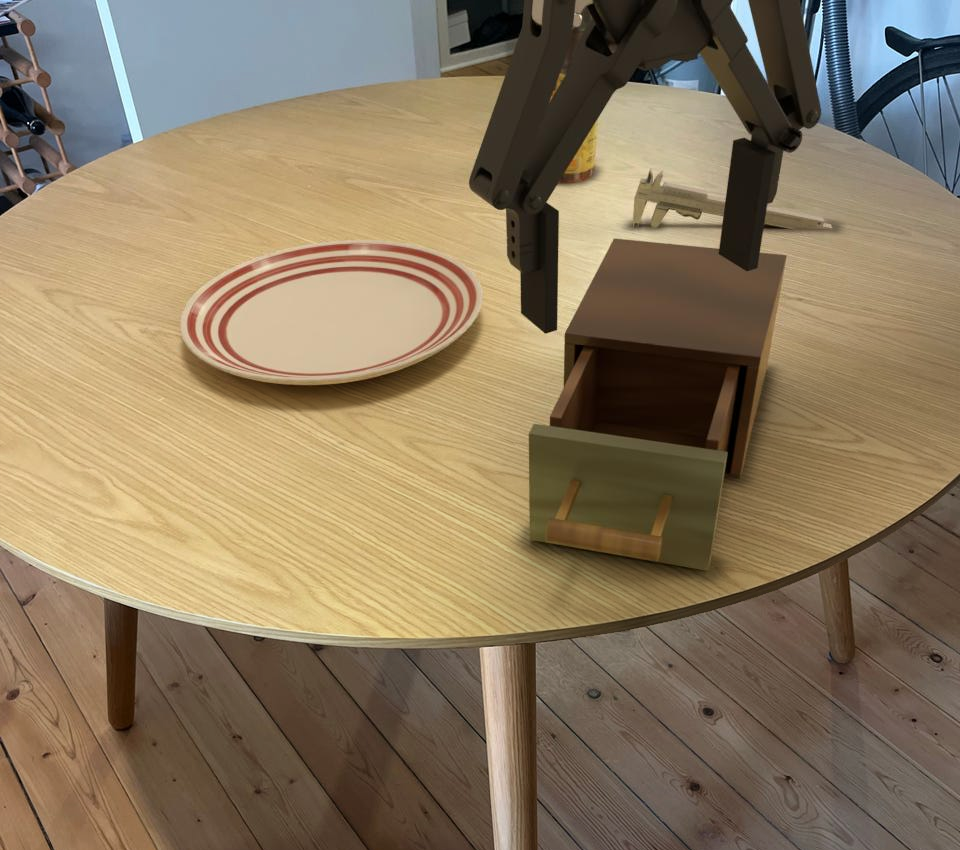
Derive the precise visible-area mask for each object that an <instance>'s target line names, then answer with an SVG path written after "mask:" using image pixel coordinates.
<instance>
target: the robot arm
mask: <svg viewBox="0 0 960 850" xmlns="http://www.w3.org/2000/svg"><path fill="white" fill-rule="evenodd" d="M747 1H748V6H749V10H750V14H751V18H752V22H753V27H754V31H755V36H756V39H757V43H758V47H759V51H760V57H761V61H762V64H763V68H764V72H765V76H764V74H763V72H762V70H761V69H760V67H759V65H758V63H757V62H756V59H755V58H754V56H753V54H752V53H751V50H750V49H749V47H748V46H747V43H748V41H749V39H748V36H747V34H746V33H745V31H744V29H743V27H742V26H741V24H740V22H739V20H738V18H737V17H736V14H735V13H734V11H733V9H732V7H731V5H732V3H733V2H734V0H523V11H522V12H523V14H522V26H521V29H520V32H519V34H518V38H517V41H516V44H515V46H514V49H513V52H512V55H511V58H510V61H509V64H508V67H507V69H506V72H505V75H504V78H503V81H502V84H501V86H500V90H499V92H498V95H497V98H496V101H495V104H494V107H493V110H492V113H491V116H490V118H489V121H488V124H487V126H486V130H485V132H484V135H483V139H482V140H481V141H482V142H481V144H480V147H479V150H478V153H477V155H476V158H475V161H474V164H473V167H472V170H471V172H470V176H469V178H468V179H469V180H468V187H469V189H470V190H471V192H472V193H474V194H475V195H476V196H478V197H479V198H481V199H482V200H483V201H484V202H486V203H487V204H489V205H490V206H492V207H493V208H494V209H496V210H497V211H498V210H499V211H504V210H505V223H506V227H505V228H506V256H507V257H506V258H507V259H508V262H509V264H510V266H512V267H513V268H515V269H516V270H517V271H519V272H520V273H519V276H520V277H519V278H520V280H519V281H520V314H521V315H522V316H523V317H525V318H526V319H527V320H528V321H529V322H531V323H532V324H533V325H534V326H535V327H536V328H538V329H539V330H540V331H541V332H542V333H543V334H544V335H546V334H550V333H553V332H556V331H558V305H559V303H558V301H559V299H558V297H559V239H560V238H559V237H560V236H559V235H560V229H559V228H560V227H559V226H560V210H558V209H557V208H555V207H554V206H552V205H551V204H549V203H548V201H549V199H550V198H551V196H552V194H553V192H554V191H555V189H556V188H557V187H558V184H559V181H560V179H561V178H562V176H563V175H564V173H565V171H566V170H567V168H568V166H569V165H570V163H571V162H572V160H573V158H574V157H575V155H576V153H577V152H578V150H579V149H580V147H581V145H582V144H583V142H584V140H585V139H586V137H587V135H588V134H589V132H590V131H591V129H592V127H593V126H594V124H595V122H596V121H597V119H598V120H599V118H600V116H601V114H602V113H603V112H604V110H605V108H606V106H607V105H608V103H609V102H610V100H611V99H612V97H613V94H614V93H615V92H616V91H618V90H619V89H622V88H624V87H625V86H626V85H627V84H628V83H629V81H630V80H631V78H632V76H633V75H634V73H635V72H636V70H637V69H639V70H642V71H644V72H647V71H651V70H655V69H659V68H660V67H662V66H665V65H666V64H668V63H669V62H672V61H675V62H683V63H686V62H690V61H691V62H692V61H695V60H698V58H699V54H700V56H701V58H702V59H703V61H704V62H705V64H706V66H707V67H708V69H709V71H710V72H711V75H712V76H713V77H714V80H715V82H716V83H717V84H718V86H719V87H720V89H721V90H722V92H723V94H724V96H725V97H726V99H727V101H728V102H729V104H730V106H731V108H732V109H733V110H734V113H736V114H735V115H737V117H738V118H739V120H740V122H741V124H742V125H743V127H744V129H745V130H746V132H747V133H748V134H749V135H750V139H749V138H746V137H741V138H737V139H733V140H732V148H731V155H730V163H729V171H728V178H727V185H726V193H725V198H726V200H725V208H724V216H722V224H721V232H720V239H719V246H718V249H719V255H721V256H723V257H724V258H726V259H727V260H729V261H731V262H732V263H734V264H736V265H737V266H739V267H740V268H742V269H744V270H745V271H750V270H753V269H757V267H758V260H759V254H760V253H761V248H762V241H763V235H764V228H765V224H764V223H765V217H766V210H767V207H768V205H770V204H773V202H774V200H775V197H776V195H777V193H778V187H779V180H780V174H781V170H782V169H781V168H782V162H783V156H784V152H785V153H789V154H790V153H791V154H792V153H794V152H795V151H797V149H799V147H800V145H801V143H802V141H803V132H802V131H801V130H802V129H803V128H805V129H807V130H810V129H813V128H814V127H815V126H817V124H818V123H819V121H820V120H821V117H822V107H821V101H820V97H819V92H818V87H817V81H816V77H815V76H816V75H815V72H814V66H813V61H812V57H811V52H810V46H809V40H808V37H807V31H806V26H805V21H804V16H803V11H802V6H801V1H800V0H747ZM585 7H586V8H587V10H588V12H589V14H590V15H591V17H592V19H591V21H590V23H589V24H588V26H587V28H586V30H585V31H584V33H583V35H582V36H581V38H580V40H579V41H578V43H577V45H576V46H575V48H574V50H573V53H572V60H573V61H572V65H571V67H570V68H569V70H568V72H567V73H566V75H565V77H564V78H563V80H562V82H561V83H560V85H559V87H558V89H557V90H556V92H555V94H554V95H553V97H552V99H551V96H552V93H553V91H554V88H555V85H556V83H557V80H558V77H559V75H560V72H561V69H562V67H563V64H564V61H565V58H566V55H567V52H568V49H569V45H570V41H571V36H572V30H573V29H574V28H578V27H579V26H580V25H581V23H582V15H581V13H582V11H583V9H584V8H585ZM606 48H608V49H609V50H610V52H611V55H609V56H606V55H604V54H603V53H604V51H605V50H606ZM765 77H766V78H765ZM550 99H551V100H550ZM549 101H550V102H549Z"/></svg>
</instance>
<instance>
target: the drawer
mask: <svg viewBox="0 0 960 850" xmlns="http://www.w3.org/2000/svg"><path fill="white" fill-rule="evenodd" d="M742 366H743V365H737V364H729V363H721V362H713V361H705V360H697V359H689V358H681V357H673V356H665V355H657V354H649V353H641V352H633V351H625V350H617V349H609V348H601V347H593V346H585V345H584V347H583V349H582V351H581V353H580V355H579V357H578V359H577V362H576V364H575V366H574V368H573V370H572V372H571V374H570V376H569V378H568V380H567V382H566V384H565V386H564V385H563V389H562V390H561V392H560V394H559V397H558V398H557V401H556V403H555V405H554V407H553V409H552V410H551V413H550V415H549V425H547V424H538V423H533V425H532V427H531V428H530V429H529V432H528V499H529V500H528V501H529V502H528V505H529V506H528V507H529V509H528V510H529V516H528V517H529V541H535V542H539V543H540V542H541V543H546V544H551V545H558V546H564V547H570V548H574V549H581V550H585V551H592V552H598V553H604V554H610V555H616V556H621V557H627V558H632V559H638V560H644V561H650V562H656V563H661V564H666V565H673V566H677V567H678V566H679V567H684V568H688V569H689V568H690V569H695V570H700V571H705V572H708V571H709V569H710V566H711V565H710V564H711V562H712V561H711V560H712V555H713V548H714V543H715V536H716V529H717V523H718V517H719V511H720V503H721V497H722V491H723V486H724V485H723V484H724V479H725V476H724V473H725V467H726V460H727V454H728V450H729V446H730V442H731V435H732V429H733V423H734V416H735V410H736V404H737V397H738V391H739V385H740V378H741V372H742Z"/></svg>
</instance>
